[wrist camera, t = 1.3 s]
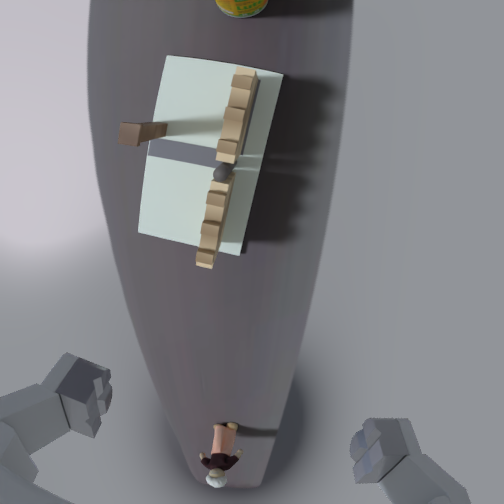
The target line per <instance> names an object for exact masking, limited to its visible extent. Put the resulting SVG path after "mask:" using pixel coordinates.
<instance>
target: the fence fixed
mask: <svg viewBox="0 0 504 504" xmlns="http://www.w3.org/2000/svg"><path fill="white" fill-rule="evenodd" d="M257 83H258V76H257V73H256V70H254V69H249V68H244V67H238V66H237V68H236V72H235V74H234V75H233V79H232V83H231V87H232V89H231V93H230V97H229V101H228V106H227V107H226V108H225V113H224V117H223V119H224V123H223V128H222V132H221V137H220V139H219V140H218V144H217V149H216V152H217V155H216V160H218V161H223V162H222V163H221V164H220V165H219V166H218V167H217V168H216V169H215V170H214V172H213V177H214V179H215V180H216V181H218V182H223V181H225V180H226V179H227V178H228V176H229V175H230V173H231V172H232V170H233V169H234V167H235V166H236V164H237V159H238V157H239V156H240V154H241V150H242V145H243V141H244V137H245V133H246V128H247V124H248V120H249V116H250V111H251V107H252V103H253V99H254V95H255V91H256V87H257Z"/></svg>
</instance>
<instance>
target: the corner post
mask: <svg viewBox="0 0 504 504" xmlns="http://www.w3.org/2000/svg"><path fill="white" fill-rule="evenodd" d="M167 126H168V124H167V123H161V122H147V123H128V122H121V125H120V131H119V138H118V144H124V145H130V146H140V142H144V141H149V140H153V139H157V138H161V137H166V131H167Z"/></svg>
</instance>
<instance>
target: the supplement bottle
mask: <svg viewBox="0 0 504 504" xmlns="http://www.w3.org/2000/svg"><path fill="white" fill-rule="evenodd" d="M215 1H216V3H217V5H218V7H219V8H220V9H221V10H222V11H223V12H224V13H225V14H227V15H229V16H232V17H237V18H246V17H251V16H254V15H256V14H258V13H259V12H260V11H262V10H263V9H264V8H265V6H266V5H267V2H268V0H215Z"/></svg>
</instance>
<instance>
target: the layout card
mask: <svg viewBox="0 0 504 504" xmlns="http://www.w3.org/2000/svg"><path fill="white" fill-rule="evenodd" d="M237 66H238V67H244V68H249V69H254V70H256V73H257V76H258V83H257V87H256V91H255V95H254V99H253V103H252V107H251V111H250V116H249V120H248V124H247V128H246V133H245V137H244V141H243V145H242V150H241V154H240V156H239V157H238V159H237V164H236V166H235V167H234V169H233V170H232V172H236V176H235V180H234V185H233V189H232V194H231V198H230V203H229V208H228V212H227V217H226V222H225V227H224V231H223V236H222V241H221V245H220V248H219V250H218V251H221V252H225V253H229V254H234V255H238V256H239V255H240V251H241V247H242V243H243V238H244V234H245V230H246V226H247V221H248V217H249V213H250V209H251V205H252V200H253V196H254V192H255V188H256V184H257V180H258V175H259V171H260V167H261V163H262V159H263V155H264V151H265V147H266V143H267V138H268V134H269V130H270V126H271V122H272V118H273V114H274V110H275V106H276V102H277V98H278V94H279V90H280V86H281V82H282V78H283V74H279V73H275V72H271V71H266V70H261V69H257V68H252V67H247V66H241V65H236V64H230V63H224V62H218V61H211V60H204V59H196V58H188V57H179V56H168V55H167V58H166V62H165V66H164V71H163V75H162V79H161V84H160V88H159V93H158V98H157V103H156V108H155V113H154V118H153V122H161V123H167V124H168V126H167V131H166V137H161V138H157V139H153V140H150V141H149V147H148V154H147V160H146V167H145V175H144V182H143V190H142V199H141V208H140V217H139V228H138V232H139V233H143V234H148V235H152V236H156V237H160V238H165V239H169V240H173V241H178V242H182V243H186V244H190V245H195V246H199V244H200V239H201V234H200V231H201V226H202V222H203V220H204V216H205V211H206V206H207V204H206V199H207V193H208V191H209V190H210V185H211V181H212V180H213V178H214V177H213V172H214V170H215V169H216V168H217V167H218V166H219V165H220V164H221V163H222V162H223V161H218V160H216V155H217V152H216V149H217V144H218V140H219V139H220V137H221V132H222V128H223V123H224V119H223V117H224V113H225V108H226V107H227V106H228V101H229V97H230V93H231V89H232V87H231V83H232V79H233V75H234V74H235V72H236V68H237Z"/></svg>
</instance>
